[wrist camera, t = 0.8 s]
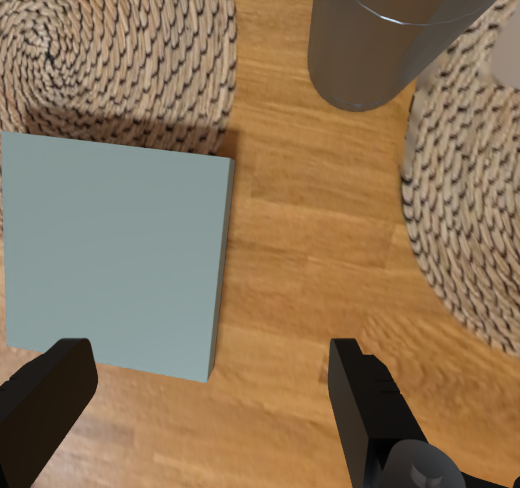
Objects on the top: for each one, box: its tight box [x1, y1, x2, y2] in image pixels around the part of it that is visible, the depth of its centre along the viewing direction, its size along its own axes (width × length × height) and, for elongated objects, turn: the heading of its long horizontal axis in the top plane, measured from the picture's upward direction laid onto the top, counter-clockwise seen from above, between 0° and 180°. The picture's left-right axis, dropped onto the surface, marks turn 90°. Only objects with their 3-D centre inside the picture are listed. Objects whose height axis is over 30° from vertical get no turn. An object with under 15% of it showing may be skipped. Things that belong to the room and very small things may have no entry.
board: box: [1, 131, 235, 383], centre depth 31 cm, size 22×22×2 cm
